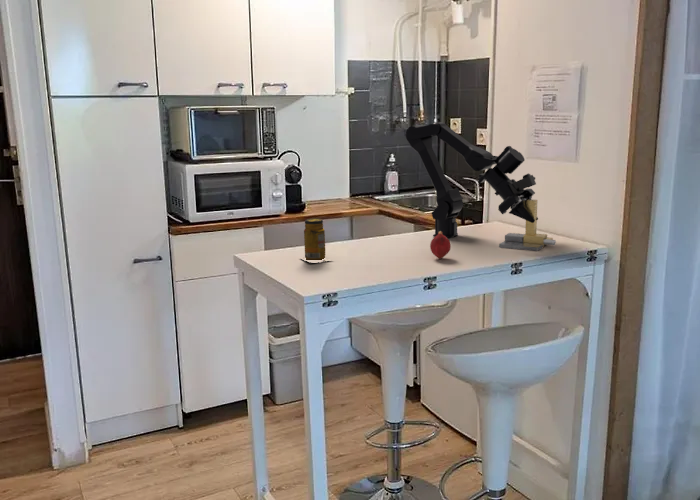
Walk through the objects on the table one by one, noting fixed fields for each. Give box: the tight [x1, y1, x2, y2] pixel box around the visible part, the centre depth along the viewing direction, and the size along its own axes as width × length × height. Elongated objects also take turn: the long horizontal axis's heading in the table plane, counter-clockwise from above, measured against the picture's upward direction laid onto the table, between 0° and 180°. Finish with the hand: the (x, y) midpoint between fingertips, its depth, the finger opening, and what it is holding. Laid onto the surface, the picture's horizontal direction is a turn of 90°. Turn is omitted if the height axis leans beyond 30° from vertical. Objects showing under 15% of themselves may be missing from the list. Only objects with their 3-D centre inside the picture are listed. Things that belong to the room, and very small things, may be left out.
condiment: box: [303, 218, 326, 260], centre depth 193 cm, size 7×8×12 cm
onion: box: [429, 231, 452, 260], centre depth 190 cm, size 6×6×8 cm
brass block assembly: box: [523, 198, 554, 249], centre depth 207 cm, size 12×11×14 cm
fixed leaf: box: [498, 232, 556, 252], centre depth 202 cm, size 15×9×3 cm, turn 58°
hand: (535, 221), depth 202 cm, fingers closed on brass block assembly, 3 cm apart
